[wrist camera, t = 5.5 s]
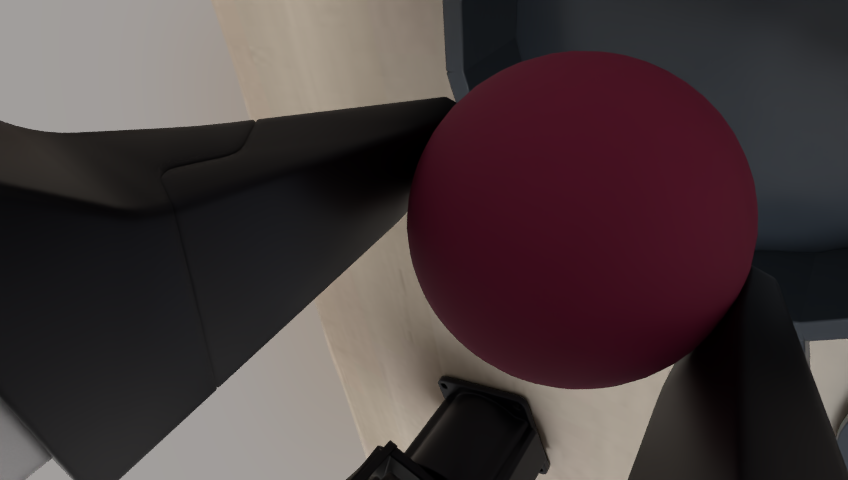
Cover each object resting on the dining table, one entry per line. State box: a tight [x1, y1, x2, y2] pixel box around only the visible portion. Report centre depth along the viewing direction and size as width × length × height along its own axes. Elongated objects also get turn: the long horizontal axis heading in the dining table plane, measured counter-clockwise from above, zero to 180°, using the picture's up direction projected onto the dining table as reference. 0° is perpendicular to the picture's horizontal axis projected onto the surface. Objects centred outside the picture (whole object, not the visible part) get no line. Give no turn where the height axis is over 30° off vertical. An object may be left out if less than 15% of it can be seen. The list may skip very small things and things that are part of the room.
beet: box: [407, 51, 758, 389], centre depth 8 cm, size 5×5×5 cm
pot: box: [443, 0, 848, 367], centre depth 14 cm, size 16×22×4 cm
